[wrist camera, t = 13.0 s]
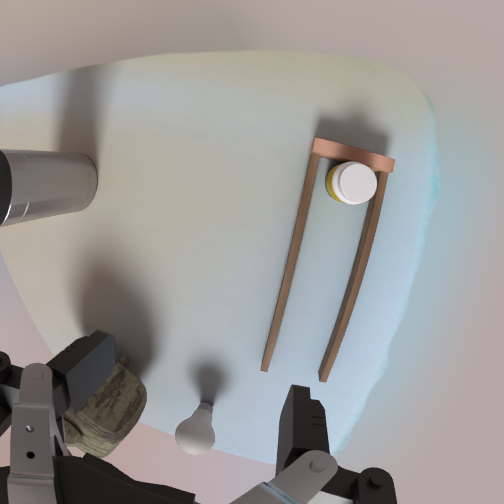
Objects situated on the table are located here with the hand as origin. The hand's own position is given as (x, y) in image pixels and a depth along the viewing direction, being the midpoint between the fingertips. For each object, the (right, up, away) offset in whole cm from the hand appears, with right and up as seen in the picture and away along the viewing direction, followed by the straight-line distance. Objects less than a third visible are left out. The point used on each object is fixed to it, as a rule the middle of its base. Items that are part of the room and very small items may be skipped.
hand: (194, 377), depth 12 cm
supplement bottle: (+14, +14, +24) cm, 31 cm away
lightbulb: (-5, -21, +34) cm, 41 cm away
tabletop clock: (-20, -15, +35) cm, 43 cm away
